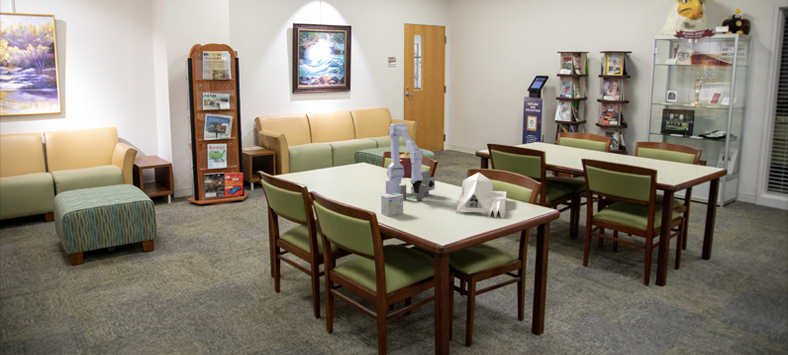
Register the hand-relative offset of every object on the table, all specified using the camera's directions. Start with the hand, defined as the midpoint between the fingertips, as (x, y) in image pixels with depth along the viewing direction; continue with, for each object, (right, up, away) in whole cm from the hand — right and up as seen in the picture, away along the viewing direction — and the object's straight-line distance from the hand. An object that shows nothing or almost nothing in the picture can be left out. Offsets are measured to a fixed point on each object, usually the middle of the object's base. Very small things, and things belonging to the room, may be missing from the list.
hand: (416, 193), depth 337 cm
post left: (-8, -4, +4) cm, 10 cm away
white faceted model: (+38, -8, -13) cm, 41 cm away
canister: (-4, +10, +74) cm, 75 cm away
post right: (+1, -4, 0) cm, 4 cm away
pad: (0, -3, +9) cm, 10 cm away
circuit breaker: (+5, -2, +16) cm, 17 cm away
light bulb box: (-14, -11, -28) cm, 33 cm away
